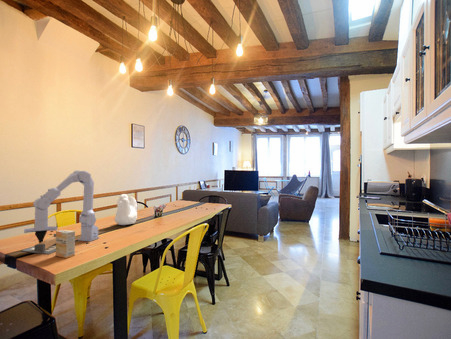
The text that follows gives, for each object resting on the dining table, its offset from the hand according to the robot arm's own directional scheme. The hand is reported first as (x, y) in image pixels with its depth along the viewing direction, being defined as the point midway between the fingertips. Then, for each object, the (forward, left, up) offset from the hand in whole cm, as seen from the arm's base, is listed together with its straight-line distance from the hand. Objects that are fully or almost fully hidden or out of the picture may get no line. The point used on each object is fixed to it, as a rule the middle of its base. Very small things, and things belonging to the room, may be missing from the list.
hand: (41, 244), depth 133 cm
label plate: (-1, -1, -3) cm, 4 cm away
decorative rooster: (-9, -67, -3) cm, 68 cm away
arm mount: (+1, -10, -3) cm, 10 cm away
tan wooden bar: (-2, -3, -2) cm, 4 cm away
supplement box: (-20, +4, -3) cm, 21 cm away
